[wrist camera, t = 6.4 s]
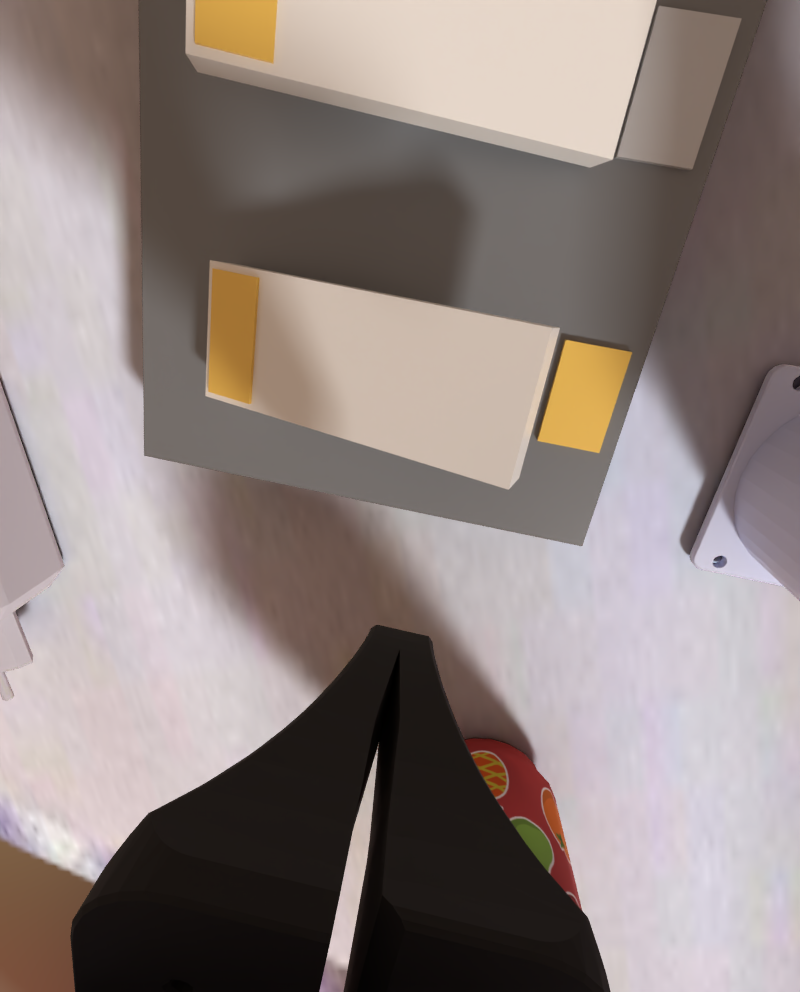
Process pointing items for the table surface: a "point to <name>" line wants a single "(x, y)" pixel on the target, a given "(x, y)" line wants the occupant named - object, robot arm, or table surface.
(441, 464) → the block
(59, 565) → the charger
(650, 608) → the table surface
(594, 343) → the switch panel
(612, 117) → the block
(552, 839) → the smoothie
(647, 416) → the table surface
